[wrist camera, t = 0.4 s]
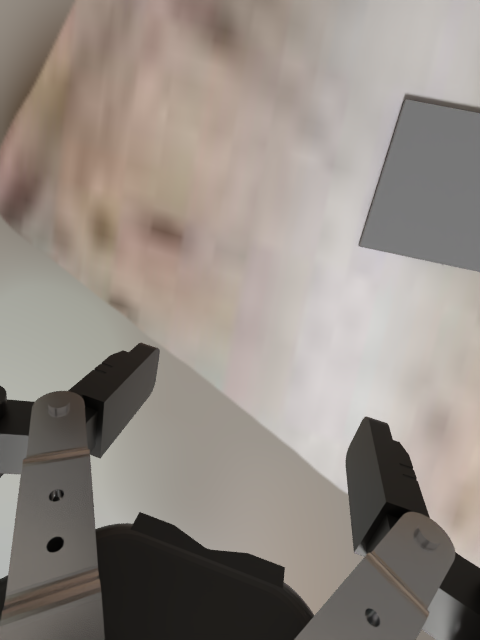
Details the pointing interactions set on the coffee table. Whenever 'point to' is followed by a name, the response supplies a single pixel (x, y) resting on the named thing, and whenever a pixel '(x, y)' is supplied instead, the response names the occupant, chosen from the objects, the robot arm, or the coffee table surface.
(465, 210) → the mat
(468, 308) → the coffee table surface
